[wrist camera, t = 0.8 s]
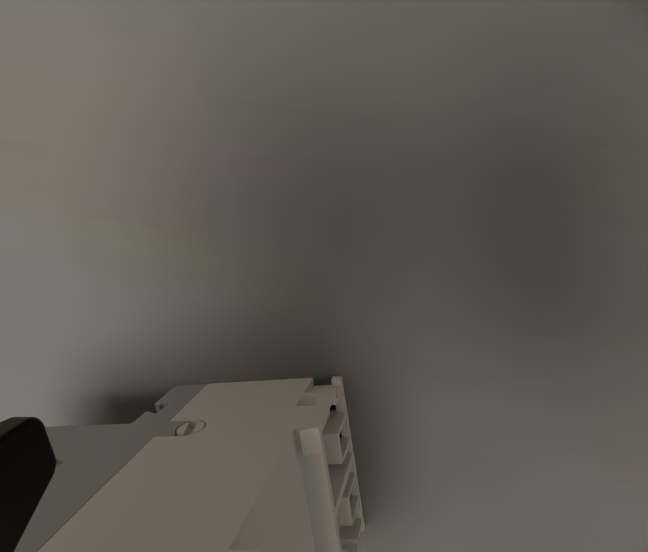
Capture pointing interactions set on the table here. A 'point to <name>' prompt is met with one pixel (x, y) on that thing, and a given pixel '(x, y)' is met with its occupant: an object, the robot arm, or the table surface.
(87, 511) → the circuit breaker
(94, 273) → the table surface
